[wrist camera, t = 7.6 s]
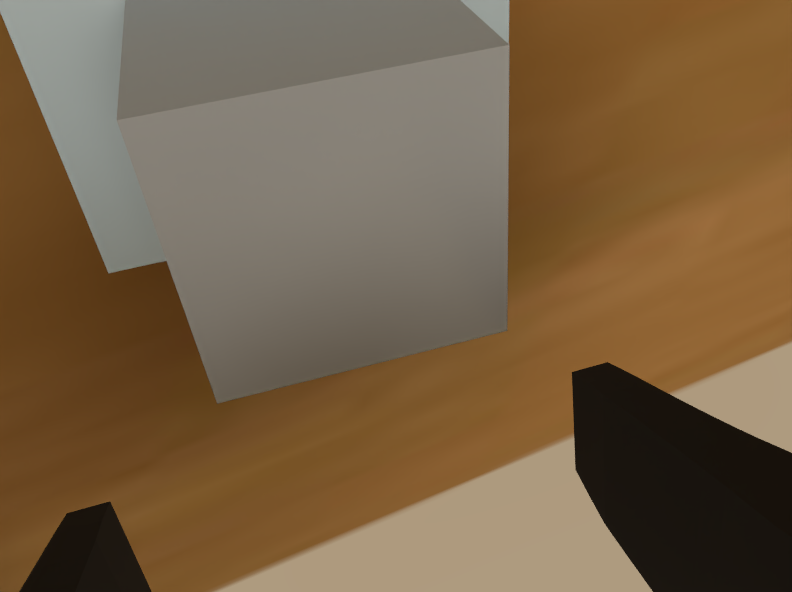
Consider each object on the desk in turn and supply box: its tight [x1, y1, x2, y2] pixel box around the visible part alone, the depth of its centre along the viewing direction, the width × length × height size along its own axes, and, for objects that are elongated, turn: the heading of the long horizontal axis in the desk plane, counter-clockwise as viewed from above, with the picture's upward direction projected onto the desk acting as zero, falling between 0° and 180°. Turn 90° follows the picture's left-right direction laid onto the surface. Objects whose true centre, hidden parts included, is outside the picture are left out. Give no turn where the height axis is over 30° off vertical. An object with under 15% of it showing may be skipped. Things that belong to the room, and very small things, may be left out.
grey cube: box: [117, 0, 509, 403], centre depth 13 cm, size 5×5×5 cm
